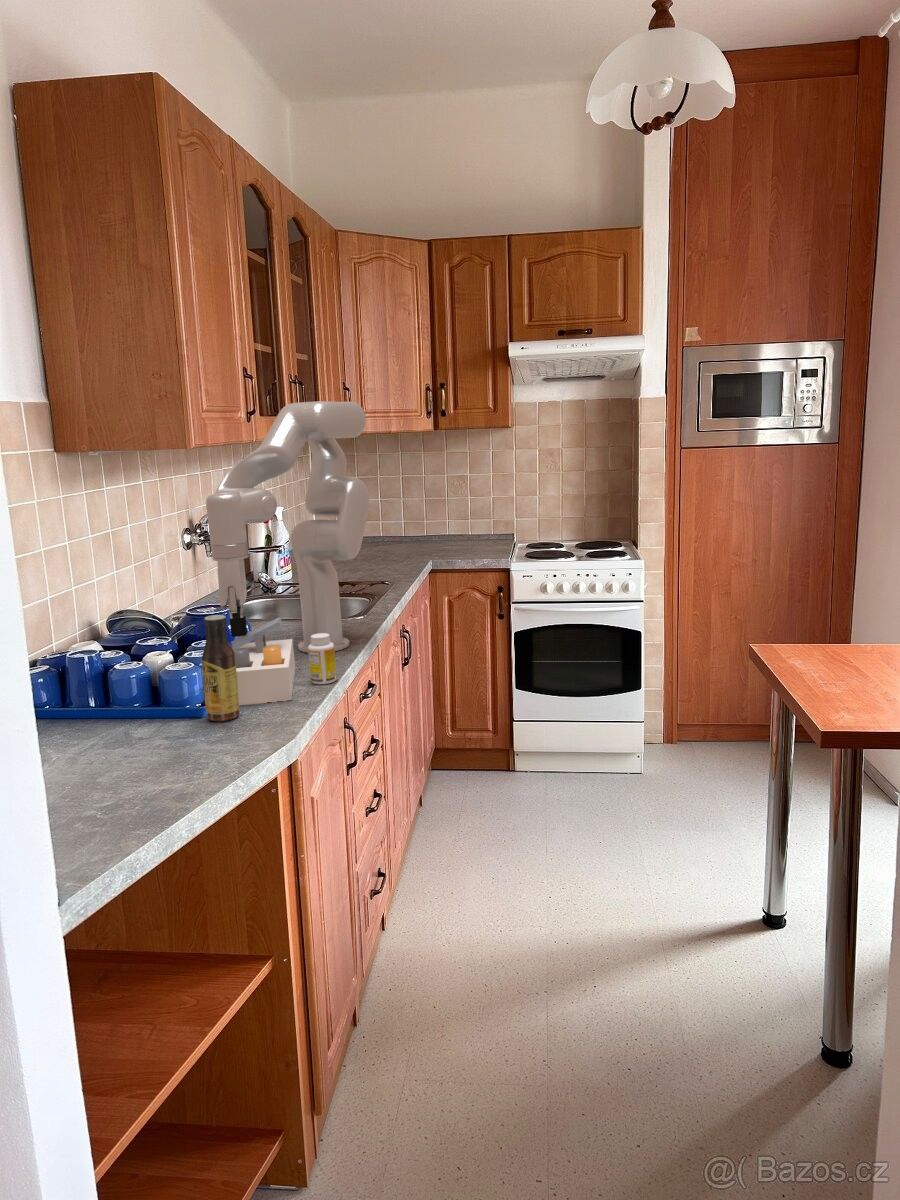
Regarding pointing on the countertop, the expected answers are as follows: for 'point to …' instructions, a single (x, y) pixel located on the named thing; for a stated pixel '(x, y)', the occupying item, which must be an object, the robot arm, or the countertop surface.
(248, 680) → the panel
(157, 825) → the countertop surface
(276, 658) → the button orange
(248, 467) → the robot arm
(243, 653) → the button charcoal
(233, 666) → the sauce bottle
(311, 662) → the supplement bottle
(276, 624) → the rocker
